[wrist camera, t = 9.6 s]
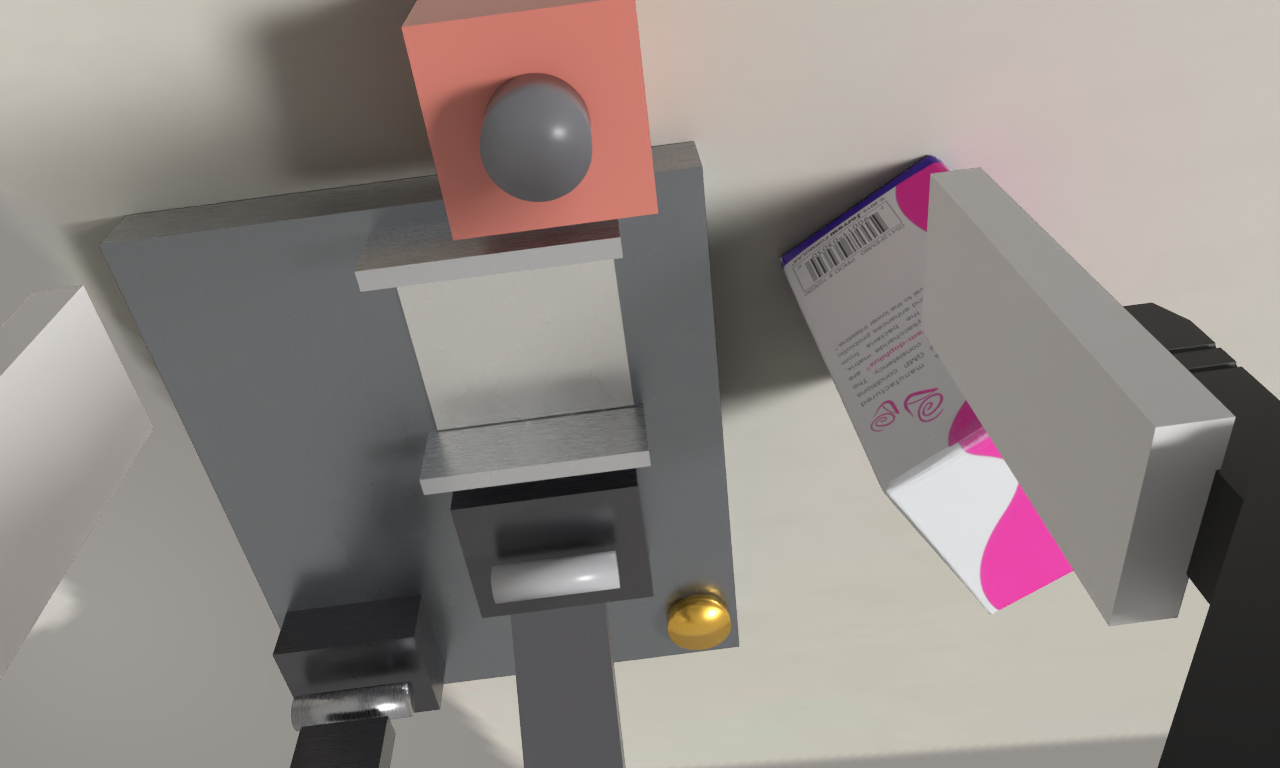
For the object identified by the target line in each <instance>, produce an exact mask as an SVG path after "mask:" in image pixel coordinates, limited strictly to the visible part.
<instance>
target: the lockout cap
mask: <svg viewBox="0 0 1280 768" xmlns="http://www.w3.org/2000/svg"><path fill="white" fill-rule="evenodd" d="M401 28H402V32H403V36H404V40H405V45H406V49H407V53H408V57H409V61H410V65H411V69H412V73H413V77H414V81H415V85H416V90H417V94H418V98H419V102H420V106H421V110H422V114H423V118H424V122H425V126H426V131H427V135H428V139H429V143H430V147H431V151H432V155H433V159H434V163H435V167H436V171H437V176H438V180H439V184H440V188H441V192H442V196H443V200H444V204H445V208H446V212H447V217H448V221H449V225H450V229H451V233H452V237H453V240H460V239H468V238H475V237H483V236H491V235H498V234H506V233H514V232H521V231H529V230H536V229H544V228H552V227H559V226H567V225H574V224H582V223H590V222H597V221H605V220H612V219H620V218H628V217H635V216H643V215H651V214H658V205H657V196H656V187H655V178H654V169H653V160H652V151H651V142H650V132H649V123H648V114H647V105H646V96H645V87H644V78H643V68H642V59H641V50H640V41H639V32H638V23H637V14H636V5H635V0H417V1H416V3H415V5H414V6H413V8H412V10H411V12H410V13H409V15H408V17H407V18H406V20H405V22H404V23H403V25H402V27H401Z"/></svg>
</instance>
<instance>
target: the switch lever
mask: <svg viewBox="0 0 1280 768" xmlns="http://www.w3.org/2000/svg"><path fill="white" fill-rule="evenodd" d="M491 586H492V593H493V598H494V601H495V603H496V604H498V603H506V602H514V601H522V600H530V599H538V598H546V597H553V596H561V595H569V594H577V593H585V592H593V591H601V590H608V589H616V588H620V577H619V568H618V561H617V554H616V551H608V552H600V553H592V554H584V555H576V556H568V557H561V558H553V559H545V560H537V561H529V562H521V563H514V564H506V565H498V566H492V569H491ZM511 626H512V637H513V649H514V660H515V671H516V682H517V693H518V704H519V715H520V727H521V738H522V749H523V760H524V768H626V767H625V759H624V750H623V741H622V732H621V723H620V714H619V705H618V696H617V688H616V679H615V670H614V661H613V652H612V643H611V634H610V626H609V617H608V608H607V603H598V604H590V605H582V606H574V607H567V608H559V609H551V610H543V611H535V612H527V613H519V614H512V615H511Z"/></svg>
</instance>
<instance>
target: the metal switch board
mask: <svg viewBox="0 0 1280 768" xmlns="http://www.w3.org/2000/svg"><path fill="white" fill-rule="evenodd" d="M651 151H652V160H653V169H654V178H655V187H656V196H657V205H658V214H651V215H643V216H635V217H628V218H620V219H612V220H605V221H597V222H590V223H582V224H574V225H567V226H559V227H552V228H544V229H536V230H529V231H521V232H514V233H506V234H498V235H491V236H483V237H475V238H468V239H460V240H453V237H452V233H451V229H450V225H449V221H448V217H447V212H446V208H445V204H444V200H443V196H442V192H441V188H440V184H439V180H438V176H437V175H433V176H425V177H418V178H410V179H402V180H395V181H387V182H379V183H372V184H364V185H356V186H349V187H341V188H333V189H326V190H318V191H310V192H303V193H295V194H287V195H280V196H272V197H264V198H257V199H249V200H241V201H234V202H226V203H218V204H211V205H203V206H195V207H188V208H180V209H172V210H165V211H157V212H149V213H142V214H134V215H126V216H125V217H124V218H123V219H122V220H121V222H120V223H119V224H118V225H117V226H116V227H115V228H114V229H113V230H112V231H111V232H110V233H109V234H108V235H107V236H106V238H105V239H104V240H103V241H102V242H101V243H100V244H99V246H100V248H101V250H102V253H103V255H104V257H105V259H106V261H107V263H108V265H109V267H110V269H111V272H112V274H113V276H114V278H115V280H116V282H117V284H118V286H119V289H120V291H121V293H122V295H123V297H124V299H125V301H126V303H127V305H128V308H129V310H130V312H131V314H132V316H133V318H134V320H135V322H136V324H137V327H138V329H139V331H140V333H141V335H142V337H143V339H144V341H145V344H146V346H147V348H148V350H149V352H150V354H151V356H152V358H153V360H154V363H155V365H156V367H157V369H158V371H159V373H160V375H161V377H162V380H163V382H164V384H165V386H166V388H167V390H168V392H169V394H170V396H171V399H172V401H173V403H174V405H175V407H176V409H177V411H178V413H179V416H180V418H181V420H182V422H183V424H184V426H185V428H186V430H187V432H188V435H189V437H190V439H191V441H192V443H193V445H194V447H195V449H196V452H197V454H198V456H199V458H200V460H201V462H202V464H203V466H204V468H205V471H206V473H207V475H208V477H209V479H210V481H211V483H212V485H213V487H214V489H215V492H216V494H217V496H218V498H219V500H220V502H221V504H222V507H223V509H224V511H225V513H226V515H227V517H228V519H229V521H230V523H231V526H232V528H233V530H234V532H235V534H236V536H237V538H238V540H239V543H240V545H241V547H242V549H243V551H244V553H245V555H246V557H247V560H248V562H249V564H250V566H251V568H252V570H253V572H254V574H255V576H256V579H257V581H258V583H259V585H260V587H261V589H262V591H263V593H264V596H265V597H266V599H267V602H268V604H269V606H270V608H271V610H272V612H273V615H274V616H275V619H276V621H277V623H278V625H279V627H280V629H281V631H280V634H279V637H278V640H277V643H276V646H275V650H274V653H273V657H274V659H275V661H276V663H277V665H278V666H279V669H280V671H281V673H282V675H283V677H284V679H285V681H286V683H287V685H288V687H289V689H290V691H291V693H292V695H293V697H294V700H293V703H292V709H291V718H292V724H293V727H294V728H295V730H296V731H300V733H299V737H298V741H297V744H296V748H295V751H294V755H293V759H292V762H291V766H290V768H390V763H391V757H392V751H393V746H394V740H395V731H394V729H393V727H392V724H391V722H390V719H399V718H406V717H412V716H413V713H415V712H423V711H430V710H438V709H440V706H441V699H442V691H443V684H447V683H455V682H463V681H471V680H479V679H487V678H495V677H503V676H511V675H516V671H515V660H514V649H513V637H512V626H511V615H512V614H519V613H527V612H535V611H543V610H551V609H559V608H567V607H574V606H582V605H590V604H598V603H607V608H608V617H609V626H610V634H611V643H612V652H613V661H614V662H621V661H629V660H637V659H645V658H653V657H660V656H668V655H676V654H684V653H692V652H700V651H708V650H716V649H724V648H731V647H739V636H738V623H737V610H736V598H735V585H734V572H733V559H732V546H731V533H730V520H729V507H728V494H727V481H726V468H725V455H724V442H723V429H722V416H721V403H720V390H719V377H718V364H717V351H716V338H715V325H714V312H713V299H712V286H711V273H710V260H709V248H708V235H707V222H706V209H705V196H704V183H703V170H702V164H701V161H700V158H699V155H698V152H697V149H696V146H695V143H694V142H686V143H678V144H671V145H663V146H655V147H651ZM608 551H616V554H617V561H618V568H619V577H620V588H616V589H608V590H601V591H593V592H585V593H577V594H569V595H561V596H553V597H546V598H538V599H530V600H522V601H514V602H506V603H498V604H496V603H495V601H494V598H493V593H492V586H491V569H492V566H498V565H506V564H514V563H521V562H529V561H537V560H545V559H553V558H561V557H568V556H576V555H584V554H592V553H600V552H608Z"/></svg>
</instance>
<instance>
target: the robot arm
mask: <svg viewBox="0 0 1280 768" xmlns="http://www.w3.org/2000/svg"><path fill="white" fill-rule="evenodd" d="M921 329H922V330H923V332H924V334H925V335H926V337H927V338H928V340H929V342H930V343H931V345H932V346H933V348H934V350H935V351H936V353H937V354H938V356H939V357H940V359H941V361H942V362H943V364H944V365H945V367H946V369H947V370H948V372H949V373H950V375H951V377H952V378H953V380H954V381H955V383H956V384H957V386H958V388H959V389H960V391H961V392H962V394H963V396H964V397H965V399H966V400H967V402H968V403H969V405H970V407H971V408H972V410H973V411H974V413H975V415H976V416H977V418H978V419H979V421H980V423H981V424H982V426H983V427H984V429H985V430H986V432H987V434H988V435H989V437H990V438H991V440H992V442H993V443H994V445H995V446H996V448H997V449H998V451H999V453H1000V454H1001V456H1002V457H1003V459H1004V461H1005V462H1006V464H1007V465H1008V467H1009V469H1010V470H1011V472H1012V473H1013V475H1014V476H1015V478H1016V480H1017V481H1018V483H1019V484H1020V486H1021V488H1022V489H1023V491H1024V492H1025V494H1026V495H1027V497H1028V499H1029V500H1030V502H1031V503H1032V505H1033V507H1034V508H1035V510H1036V511H1037V513H1038V515H1039V516H1040V518H1041V519H1042V521H1043V522H1044V524H1045V526H1046V527H1047V529H1048V530H1049V532H1050V534H1051V535H1052V537H1053V538H1054V540H1055V541H1056V543H1057V545H1058V546H1059V548H1060V549H1061V551H1062V553H1063V554H1064V556H1065V557H1066V559H1067V561H1068V562H1069V564H1070V565H1071V567H1072V568H1073V570H1074V572H1075V573H1076V575H1077V576H1078V578H1079V580H1080V581H1081V583H1082V584H1083V586H1084V587H1085V589H1086V591H1087V592H1088V594H1089V595H1090V597H1091V599H1092V600H1093V602H1094V603H1095V605H1096V607H1097V608H1098V610H1099V611H1100V613H1101V614H1102V616H1103V618H1104V619H1105V621H1106V622H1107V624H1108V626H1115V625H1122V624H1130V623H1138V622H1145V621H1153V620H1161V619H1169V618H1176V617H1178V614H1179V610H1180V607H1181V603H1182V600H1183V597H1184V593H1185V590H1186V586H1187V583H1188V579H1189V578H1190V579H1191V581H1192V582H1193V583H1194V585H1195V586H1196V587H1197V588H1198V590H1199V591H1200V592H1201V594H1202V595H1203V596H1204V598H1205V599H1206V600H1207V602H1208V603H1209V604H1210V607H1209V610H1208V613H1207V616H1206V619H1205V622H1204V626H1203V629H1202V632H1201V635H1200V638H1199V641H1198V644H1197V647H1196V650H1195V653H1194V657H1193V660H1192V663H1191V666H1190V669H1189V672H1188V675H1187V678H1186V681H1185V684H1184V688H1183V691H1182V694H1181V697H1180V700H1179V703H1178V706H1177V709H1176V712H1175V715H1174V719H1173V722H1172V725H1171V728H1170V731H1169V734H1168V737H1167V740H1166V743H1165V746H1164V750H1163V753H1162V756H1161V759H1160V762H1159V765H1158V768H1280V400H1278V399H1277V398H1276V397H1275V396H1274V395H1273V394H1272V393H1271V392H1269V391H1268V390H1267V389H1266V388H1265V387H1264V386H1263V385H1262V384H1261V383H1259V382H1258V381H1257V380H1256V379H1255V378H1254V377H1253V376H1252V375H1250V374H1249V373H1248V372H1247V371H1246V370H1245V369H1244V368H1243V367H1237V365H1236V361H1235V360H1234V359H1233V358H1231V357H1230V356H1229V355H1228V354H1227V353H1226V352H1225V351H1224V350H1223V349H1221V348H1216V346H1215V342H1214V341H1212V340H1211V339H1210V338H1209V337H1208V336H1207V335H1206V334H1205V333H1204V332H1202V331H1201V330H1200V329H1199V328H1198V327H1197V326H1196V325H1195V324H1193V323H1192V322H1191V321H1190V320H1188V319H1186V318H1184V317H1182V316H1179V315H1177V314H1175V313H1173V312H1171V311H1169V310H1167V309H1164V308H1162V307H1160V306H1158V305H1156V304H1154V303H1146V304H1138V305H1130V306H1122V305H1121V304H1120V303H1119V302H1118V301H1117V300H1116V299H1115V298H1114V297H1113V296H1112V295H1110V294H1109V293H1108V292H1107V291H1106V290H1105V289H1104V288H1103V287H1102V286H1101V285H1100V284H1099V283H1098V282H1097V281H1096V280H1095V279H1094V278H1093V277H1092V276H1091V275H1090V274H1089V273H1088V272H1087V271H1086V270H1085V269H1084V268H1083V267H1082V266H1081V265H1080V264H1079V263H1078V262H1077V261H1076V260H1075V259H1074V258H1073V257H1072V256H1071V255H1070V254H1069V253H1068V252H1066V251H1065V250H1064V249H1063V248H1062V247H1061V246H1060V245H1059V244H1058V243H1057V242H1056V241H1055V240H1054V239H1053V238H1052V237H1051V236H1050V235H1049V234H1048V233H1047V232H1046V231H1045V230H1044V229H1043V228H1042V227H1041V226H1040V225H1039V224H1038V223H1037V222H1036V221H1035V220H1034V219H1033V218H1032V217H1031V216H1030V215H1029V214H1028V213H1027V212H1026V211H1025V210H1023V209H1022V208H1021V207H1020V206H1019V205H1018V204H1017V203H1016V202H1015V201H1014V200H1013V199H1012V198H1011V197H1010V196H1009V195H1008V194H1007V193H1006V192H1005V191H1004V190H1003V189H1002V188H1001V187H1000V186H999V185H998V184H997V183H996V182H995V181H994V180H993V179H992V178H991V177H990V176H989V175H988V174H987V173H986V172H985V171H984V170H983V169H982V168H981V167H977V168H970V169H962V170H955V171H947V172H939V173H932V174H930V190H929V207H928V223H927V239H926V255H925V272H924V288H923V304H922V321H921ZM152 430H153V427H152V425H151V423H150V421H149V418H148V416H147V414H146V413H145V410H144V408H143V406H142V404H141V402H140V400H139V398H138V396H137V394H136V392H135V390H134V388H133V386H132V384H131V382H130V380H129V378H128V376H127V374H126V371H125V369H124V367H123V365H122V363H121V361H120V359H119V357H118V355H117V353H116V351H115V349H114V347H113V345H112V343H111V341H110V339H109V337H108V335H107V333H106V331H105V329H104V327H103V325H102V322H101V320H100V318H99V316H98V314H97V312H96V310H95V308H94V306H93V304H92V302H91V300H90V298H89V296H88V294H87V292H86V290H85V288H84V286H83V285H80V286H73V287H65V288H57V289H50V290H43V291H35V292H33V293H32V294H31V295H30V296H29V297H28V298H27V299H26V300H25V301H24V302H23V303H22V304H21V305H20V306H19V307H18V308H17V309H16V310H15V311H14V312H13V313H12V314H11V315H10V316H9V317H8V318H7V319H6V320H5V321H4V322H3V323H2V325H0V680H1V678H2V676H3V675H4V673H5V672H6V670H7V668H8V667H9V665H10V663H11V662H12V660H13V658H14V657H15V655H16V654H17V652H18V650H19V649H20V647H21V645H22V644H23V642H24V640H25V639H26V637H27V635H28V634H29V632H30V631H31V629H32V627H33V626H34V624H35V622H36V621H37V619H38V617H39V616H40V614H41V612H42V611H43V609H44V608H45V606H46V604H47V603H48V601H49V599H50V598H51V596H52V594H53V593H54V591H55V590H56V588H57V586H58V585H59V583H60V581H61V580H62V578H63V576H64V575H65V573H66V571H67V570H68V568H69V567H70V565H71V563H72V562H73V560H74V558H75V557H76V555H77V553H78V552H79V550H80V548H81V547H82V545H83V544H84V542H85V540H86V539H87V537H88V535H89V534H90V532H91V530H92V529H93V527H94V526H95V524H96V522H97V521H98V519H99V517H100V516H101V514H102V512H103V511H104V509H105V507H106V506H107V504H108V502H109V501H110V499H111V497H112V496H113V494H114V493H115V491H116V489H117V488H118V486H119V484H120V483H121V481H122V480H123V478H124V476H125V475H126V473H127V471H128V470H129V468H130V466H131V465H132V463H133V461H134V460H135V458H136V457H137V455H138V453H139V452H140V450H141V448H142V447H143V445H144V443H145V442H146V440H147V439H148V437H149V435H150V434H151V432H152Z"/></svg>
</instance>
